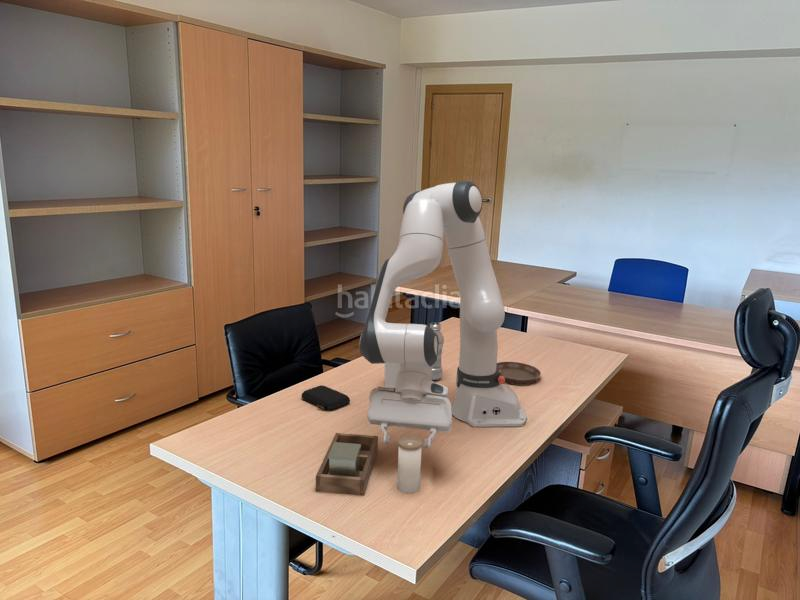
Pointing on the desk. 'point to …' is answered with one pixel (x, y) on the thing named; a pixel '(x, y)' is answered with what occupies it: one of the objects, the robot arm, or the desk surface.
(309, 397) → the carrying case or bag
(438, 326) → the plastic bottle
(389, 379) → the milk carton
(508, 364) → the plant saucer
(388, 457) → the desk surface
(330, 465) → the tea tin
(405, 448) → the lidded white canister
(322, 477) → the crate
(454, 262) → the robot arm
